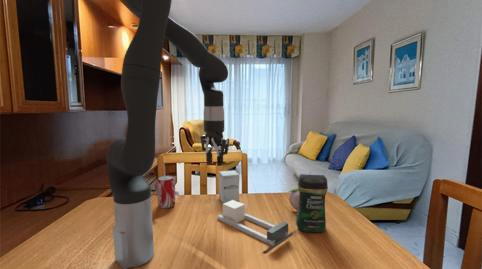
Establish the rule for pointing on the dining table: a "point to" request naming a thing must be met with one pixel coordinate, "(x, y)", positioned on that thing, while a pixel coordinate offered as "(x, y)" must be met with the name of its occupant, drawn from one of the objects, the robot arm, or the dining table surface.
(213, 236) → the dining table surface
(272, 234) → the grey slide rail
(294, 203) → the decorative fruit
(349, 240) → the dining table surface
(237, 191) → the supplement box
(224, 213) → the block
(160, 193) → the soda can
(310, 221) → the coffee jar
